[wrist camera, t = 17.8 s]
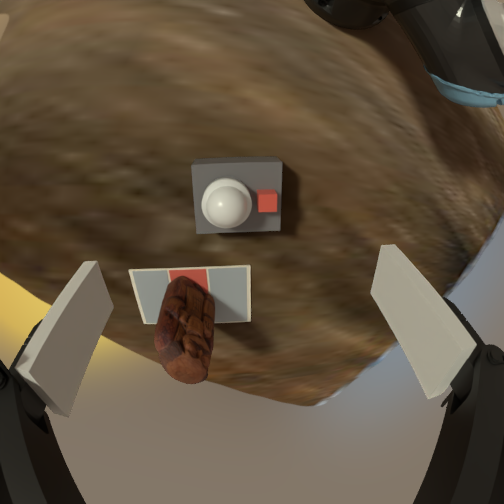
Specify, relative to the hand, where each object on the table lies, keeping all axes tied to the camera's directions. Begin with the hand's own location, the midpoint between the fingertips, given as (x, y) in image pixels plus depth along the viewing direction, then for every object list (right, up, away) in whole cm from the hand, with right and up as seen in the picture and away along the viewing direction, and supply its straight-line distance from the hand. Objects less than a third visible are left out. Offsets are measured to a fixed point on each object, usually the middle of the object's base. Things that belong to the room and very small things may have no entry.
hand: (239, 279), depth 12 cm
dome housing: (-2, +11, +30) cm, 32 cm away
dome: (-3, +8, +25) cm, 27 cm away
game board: (-11, -7, +39) cm, 41 cm away
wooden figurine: (-10, -7, +39) cm, 41 cm away
